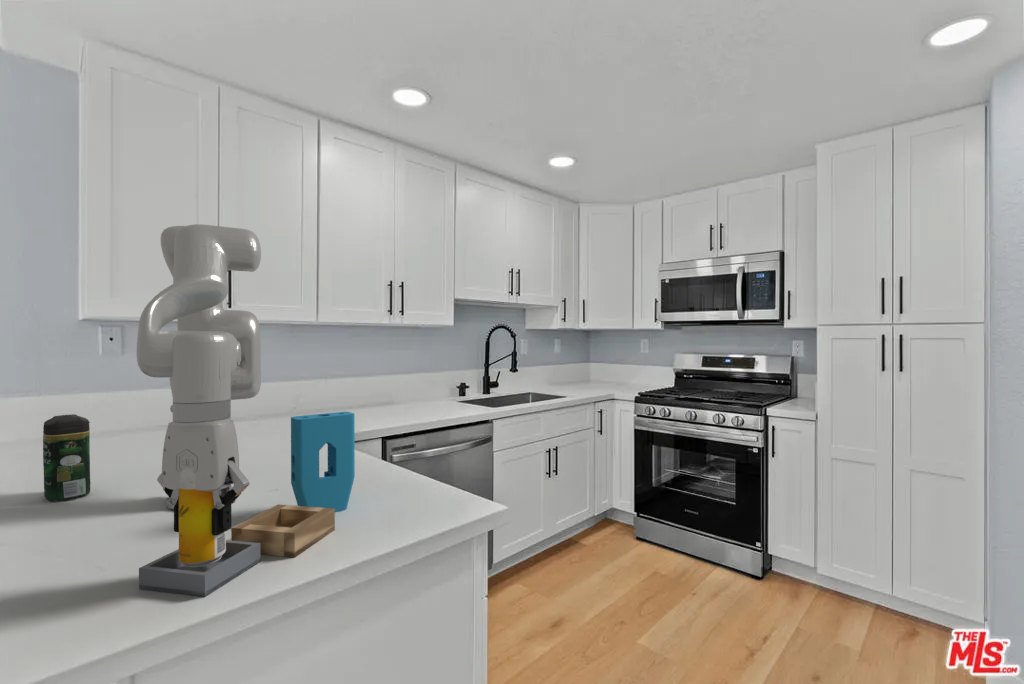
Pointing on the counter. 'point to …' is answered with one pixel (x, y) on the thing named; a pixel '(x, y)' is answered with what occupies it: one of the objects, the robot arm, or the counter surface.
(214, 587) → the tray
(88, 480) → the coffee jar
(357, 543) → the counter surface
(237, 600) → the counter surface
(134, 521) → the counter surface
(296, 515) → the shallow wooden box
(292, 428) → the block
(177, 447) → the robot arm
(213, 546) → the beer can
